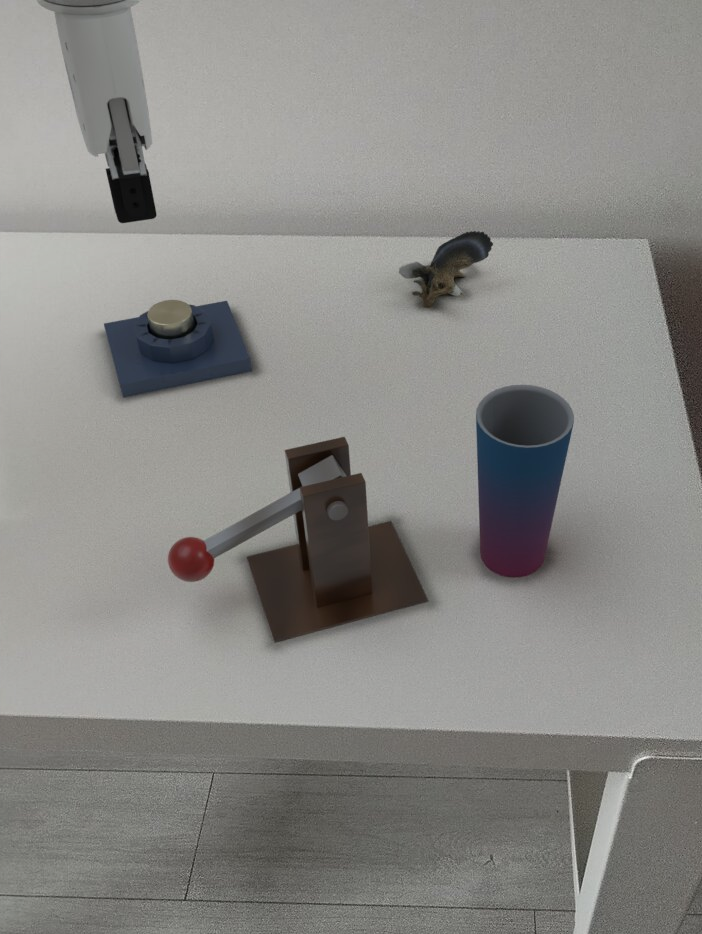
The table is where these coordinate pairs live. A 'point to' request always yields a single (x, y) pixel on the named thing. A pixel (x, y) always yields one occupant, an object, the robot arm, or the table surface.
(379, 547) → the bracket
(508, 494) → the cup
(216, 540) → the lever
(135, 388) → the box
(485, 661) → the table surface
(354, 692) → the table surface
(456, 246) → the brown squirrel toy
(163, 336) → the button
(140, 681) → the table surface
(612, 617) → the table surface
